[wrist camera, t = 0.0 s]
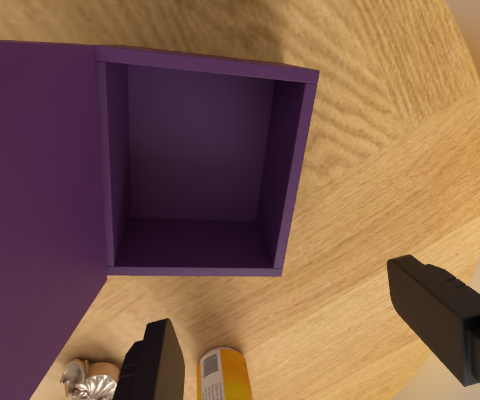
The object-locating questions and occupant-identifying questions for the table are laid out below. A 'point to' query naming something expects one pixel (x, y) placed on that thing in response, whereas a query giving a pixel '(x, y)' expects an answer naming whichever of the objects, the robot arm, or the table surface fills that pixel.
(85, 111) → the lid
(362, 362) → the table surface
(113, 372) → the ornament
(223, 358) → the beer can
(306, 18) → the table surface
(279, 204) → the box
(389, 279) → the robot arm
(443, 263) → the table surface
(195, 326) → the table surface
